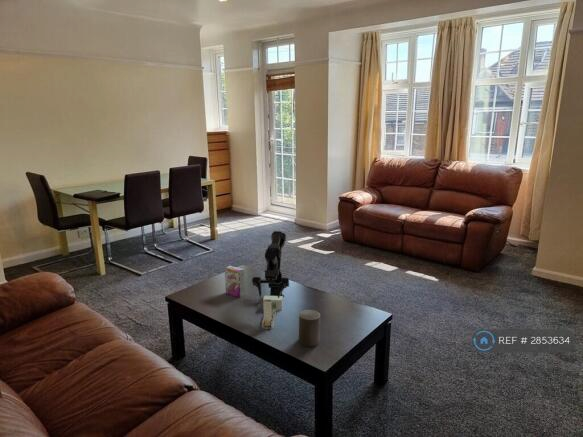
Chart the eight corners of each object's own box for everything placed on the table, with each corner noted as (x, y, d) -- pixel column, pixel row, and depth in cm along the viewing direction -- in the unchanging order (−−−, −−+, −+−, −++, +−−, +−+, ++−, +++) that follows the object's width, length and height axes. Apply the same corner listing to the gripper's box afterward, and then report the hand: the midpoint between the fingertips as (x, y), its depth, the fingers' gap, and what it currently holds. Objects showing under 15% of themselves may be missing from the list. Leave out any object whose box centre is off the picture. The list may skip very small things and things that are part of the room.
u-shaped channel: (266, 314, 214) (266, 309, 213) (276, 314, 214) (276, 309, 213) (262, 328, 200) (261, 322, 199) (272, 328, 200) (272, 323, 199)
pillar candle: (304, 349, 182) (304, 318, 179) (295, 338, 191) (295, 309, 187) (323, 344, 186) (324, 314, 182) (313, 334, 195) (314, 305, 191)
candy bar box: (225, 293, 239) (224, 267, 235) (231, 290, 243) (229, 265, 239) (240, 298, 233) (239, 271, 229) (245, 295, 237) (244, 268, 233)
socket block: (264, 305, 224) (264, 295, 223) (282, 306, 223) (282, 296, 222) (263, 309, 219) (263, 299, 218) (281, 310, 218) (281, 300, 217)
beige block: (267, 314, 213) (267, 290, 209) (274, 314, 212) (273, 291, 209) (264, 326, 201) (263, 301, 197) (271, 326, 200) (270, 301, 197)
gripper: (252, 262, 207) (248, 291, 199) (288, 263, 205) (286, 292, 197) (255, 270, 216) (251, 299, 208) (290, 272, 215) (288, 300, 207)
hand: (269, 297), depth 205 cm, fingers open, 9 cm apart
